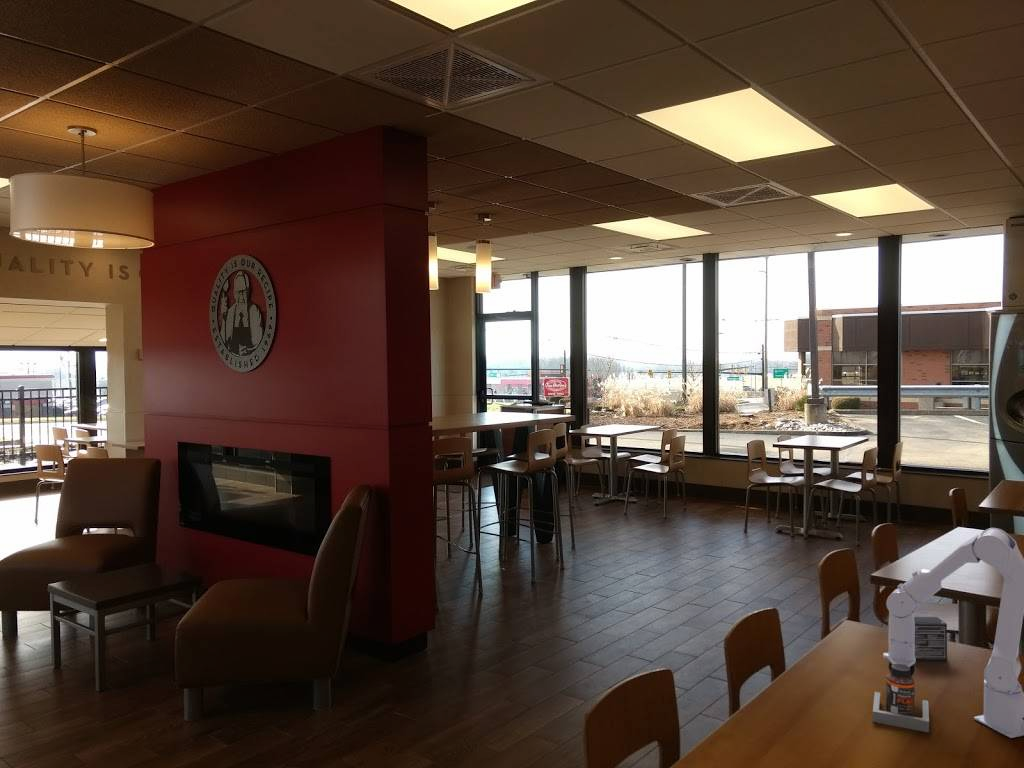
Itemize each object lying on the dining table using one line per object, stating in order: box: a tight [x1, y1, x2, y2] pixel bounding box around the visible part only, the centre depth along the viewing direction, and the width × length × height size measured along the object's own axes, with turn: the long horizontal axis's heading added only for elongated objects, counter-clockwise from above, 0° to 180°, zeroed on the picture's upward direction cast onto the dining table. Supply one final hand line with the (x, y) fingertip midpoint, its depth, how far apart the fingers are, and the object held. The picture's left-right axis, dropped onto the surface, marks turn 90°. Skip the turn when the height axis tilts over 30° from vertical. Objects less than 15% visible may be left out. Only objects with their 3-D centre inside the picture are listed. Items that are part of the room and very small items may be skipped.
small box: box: [914, 616, 948, 662], centre depth 212 cm, size 11×6×10 cm, turn 84°
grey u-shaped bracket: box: [872, 691, 930, 733], centre depth 178 cm, size 11×11×2 cm
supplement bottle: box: [885, 664, 916, 717], centre depth 180 cm, size 6×6×11 cm
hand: (901, 693), depth 187 cm, fingers closed
